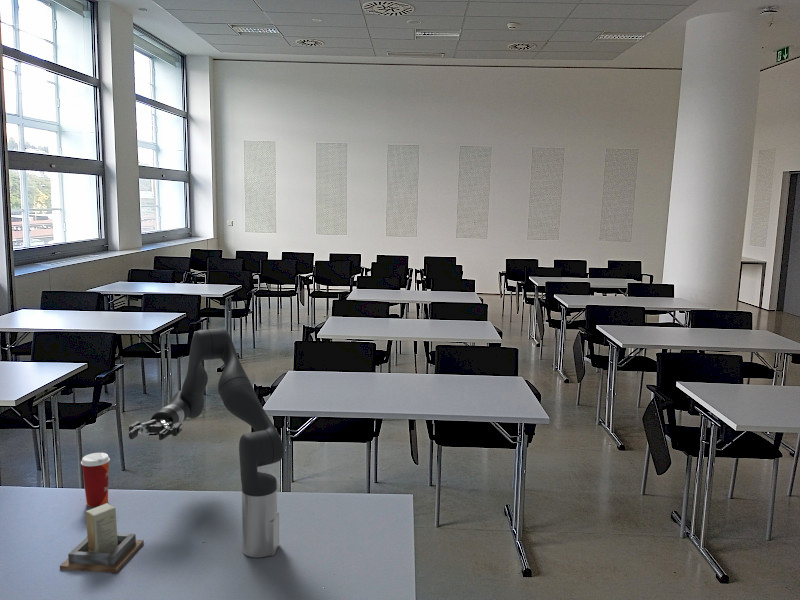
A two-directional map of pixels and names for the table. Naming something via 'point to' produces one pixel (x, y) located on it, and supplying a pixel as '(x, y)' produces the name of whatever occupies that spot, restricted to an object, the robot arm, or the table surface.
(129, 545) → the socket stand
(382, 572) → the table surface
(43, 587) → the table surface
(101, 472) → the coffee cup
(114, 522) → the skincare box
